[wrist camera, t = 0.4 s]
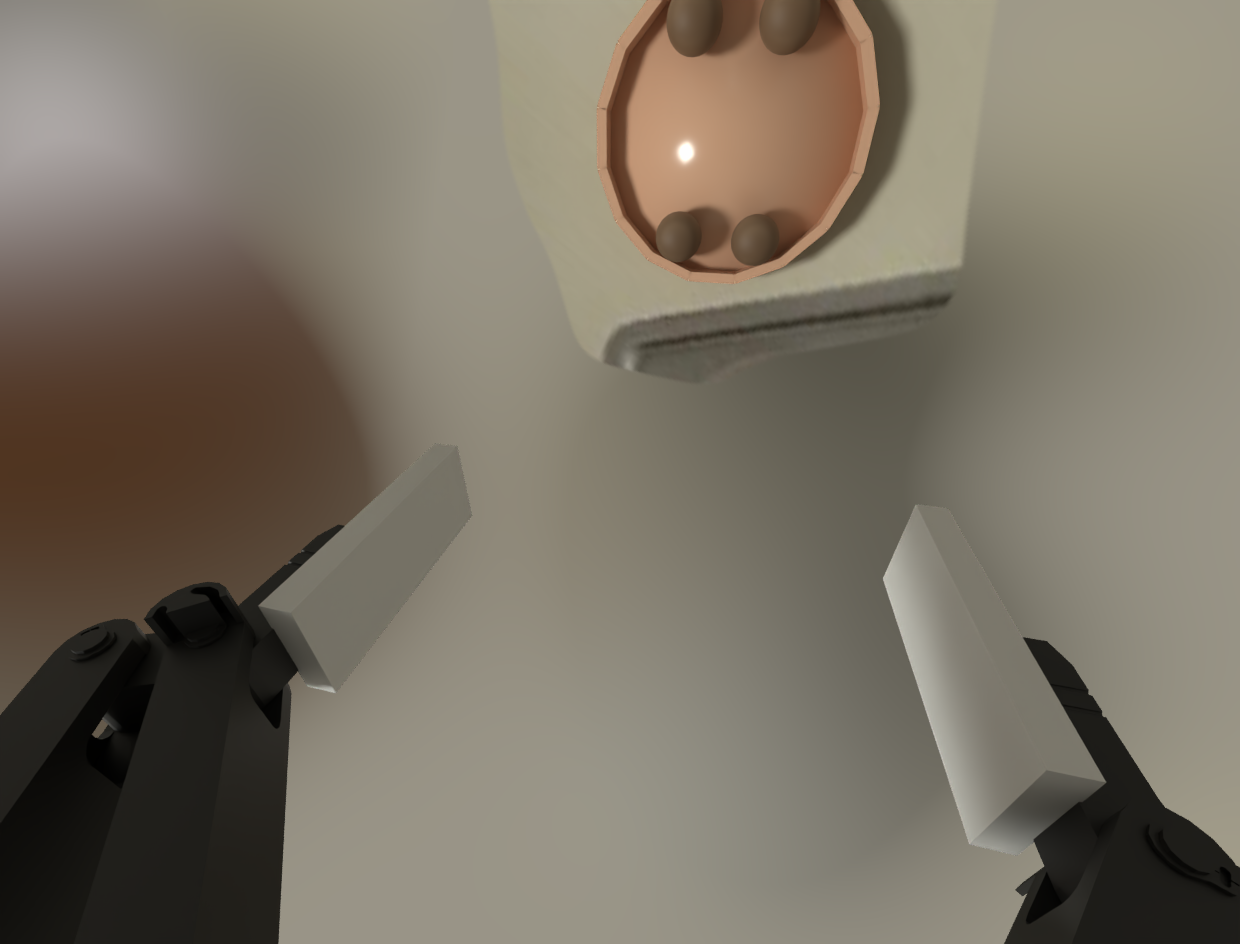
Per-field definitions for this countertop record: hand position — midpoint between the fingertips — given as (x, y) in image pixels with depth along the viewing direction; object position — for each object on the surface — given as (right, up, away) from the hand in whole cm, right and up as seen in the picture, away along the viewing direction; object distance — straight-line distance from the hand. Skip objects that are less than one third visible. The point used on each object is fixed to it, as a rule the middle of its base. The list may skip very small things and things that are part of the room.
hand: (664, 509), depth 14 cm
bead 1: (+3, +25, +11) cm, 28 cm away
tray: (+6, +22, +16) cm, 28 cm away
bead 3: (+7, +16, +16) cm, 24 cm away
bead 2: (+2, +17, +17) cm, 24 cm away
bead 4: (+7, +25, +11) cm, 28 cm away
